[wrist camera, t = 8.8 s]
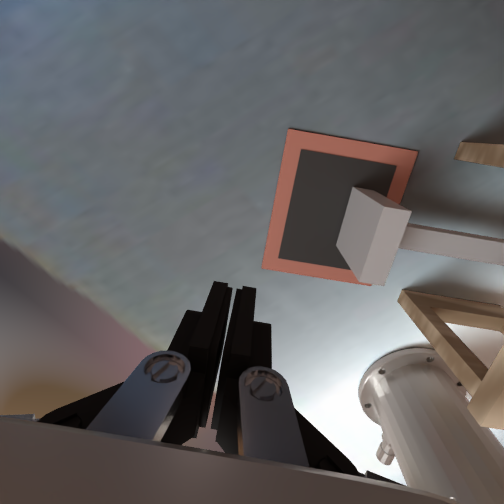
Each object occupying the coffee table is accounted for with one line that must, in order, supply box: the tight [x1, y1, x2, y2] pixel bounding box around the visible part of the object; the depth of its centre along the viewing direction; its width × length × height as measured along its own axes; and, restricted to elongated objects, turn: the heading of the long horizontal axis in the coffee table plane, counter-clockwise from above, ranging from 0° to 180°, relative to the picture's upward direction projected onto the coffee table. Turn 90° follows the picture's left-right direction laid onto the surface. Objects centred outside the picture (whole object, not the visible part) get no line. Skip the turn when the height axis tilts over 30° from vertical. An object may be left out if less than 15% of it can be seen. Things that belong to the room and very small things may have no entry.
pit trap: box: [262, 129, 418, 286], centre depth 30 cm, size 14×12×1 cm
